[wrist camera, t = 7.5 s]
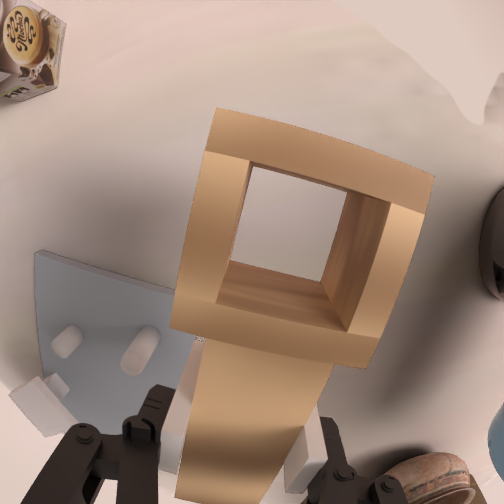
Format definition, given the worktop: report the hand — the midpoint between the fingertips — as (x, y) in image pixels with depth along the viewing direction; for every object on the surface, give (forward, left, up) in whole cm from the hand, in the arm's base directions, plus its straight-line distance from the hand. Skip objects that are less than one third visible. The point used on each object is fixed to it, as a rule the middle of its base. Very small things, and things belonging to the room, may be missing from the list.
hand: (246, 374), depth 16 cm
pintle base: (+16, -15, -15) cm, 26 cm away
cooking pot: (+28, +33, -15) cm, 46 cm away
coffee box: (-19, -30, -15) cm, 38 cm away
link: (-2, 0, 0) cm, 2 cm away
